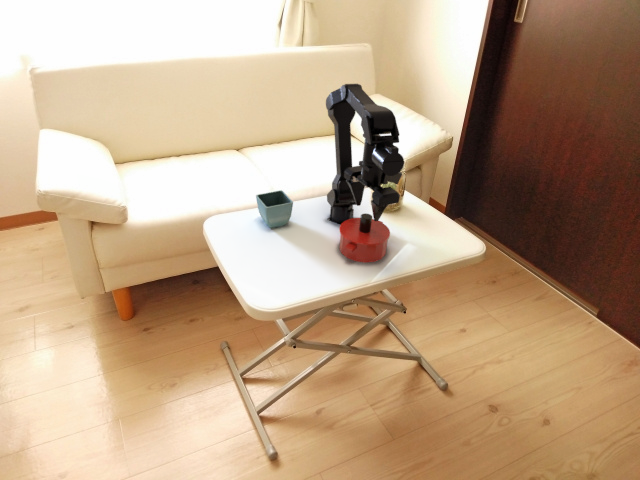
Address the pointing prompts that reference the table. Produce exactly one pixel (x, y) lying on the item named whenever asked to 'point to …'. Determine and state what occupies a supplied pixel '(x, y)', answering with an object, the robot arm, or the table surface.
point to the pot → (362, 251)
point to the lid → (364, 230)
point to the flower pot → (274, 208)
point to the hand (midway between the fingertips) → (367, 212)
